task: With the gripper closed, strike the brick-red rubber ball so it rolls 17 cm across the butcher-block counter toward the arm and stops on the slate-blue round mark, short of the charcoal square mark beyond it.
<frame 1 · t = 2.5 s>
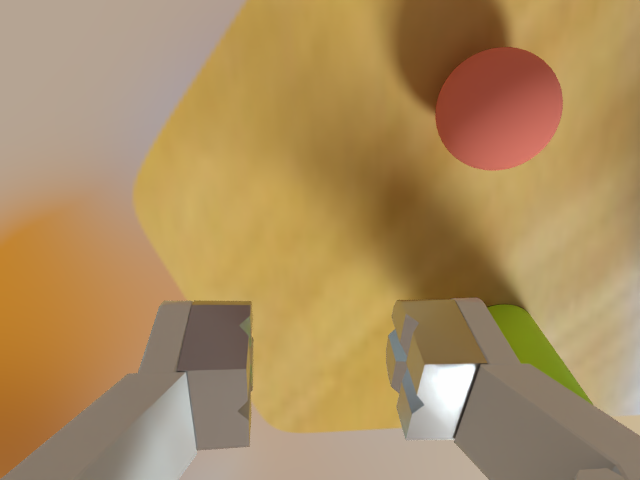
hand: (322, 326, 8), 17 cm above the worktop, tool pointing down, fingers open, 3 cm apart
ball: (496, 110, 21), on the worktop
soap dispenser: (485, 333, 33), on the worktop
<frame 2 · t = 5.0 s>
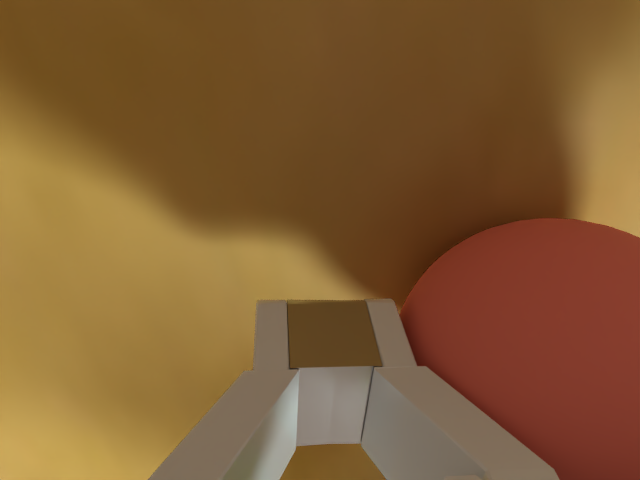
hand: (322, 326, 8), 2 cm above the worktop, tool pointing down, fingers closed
ball: (547, 374, 8), on the worktop, touching gripper
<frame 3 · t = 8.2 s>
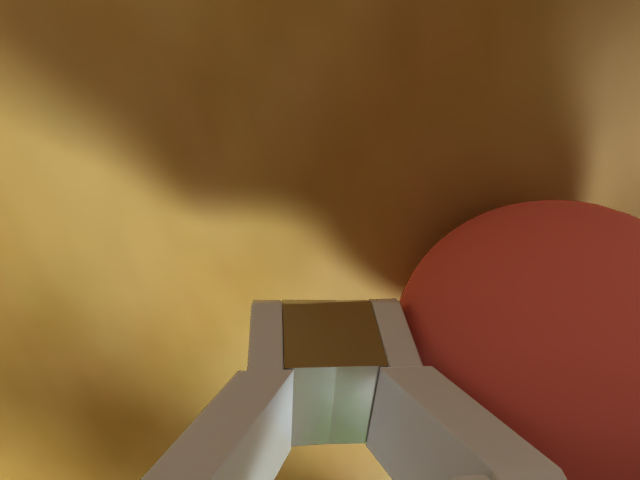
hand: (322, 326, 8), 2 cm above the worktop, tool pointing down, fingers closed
ball: (546, 352, 8), on the worktop, touching gripper
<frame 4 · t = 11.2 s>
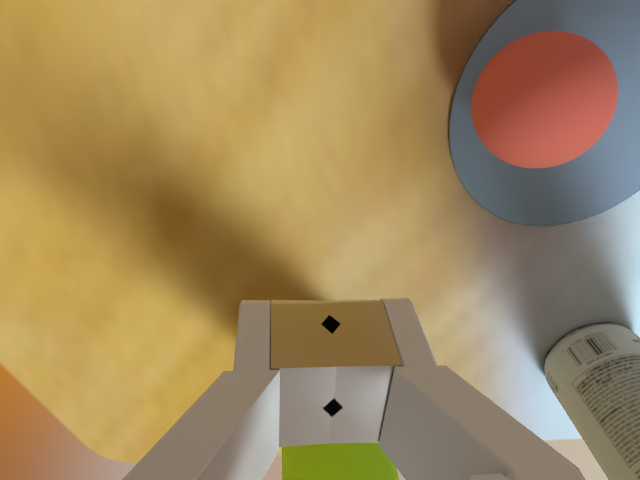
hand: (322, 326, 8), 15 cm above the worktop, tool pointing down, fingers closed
ball: (540, 102, 19), on the worktop
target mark: (579, 109, 23), on the worktop
soap dispenser: (317, 358, 31), on the worktop
spray can: (585, 352, 32), on the worktop
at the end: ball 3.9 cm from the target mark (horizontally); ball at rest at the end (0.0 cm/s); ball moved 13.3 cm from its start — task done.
